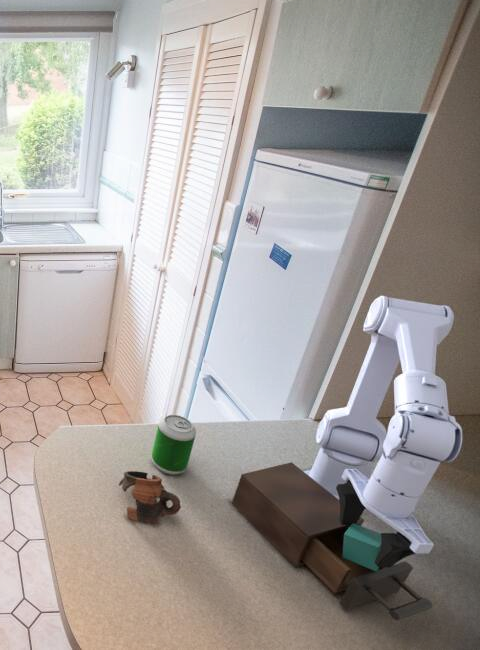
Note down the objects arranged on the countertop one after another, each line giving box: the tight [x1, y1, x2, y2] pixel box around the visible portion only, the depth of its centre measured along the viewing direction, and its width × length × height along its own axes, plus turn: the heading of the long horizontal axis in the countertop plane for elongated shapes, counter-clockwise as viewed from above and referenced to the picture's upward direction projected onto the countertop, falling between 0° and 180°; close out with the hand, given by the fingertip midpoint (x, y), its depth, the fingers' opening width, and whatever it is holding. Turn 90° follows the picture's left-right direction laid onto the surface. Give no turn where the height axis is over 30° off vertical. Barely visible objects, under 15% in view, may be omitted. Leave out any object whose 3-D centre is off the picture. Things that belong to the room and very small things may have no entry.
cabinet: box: [231, 462, 365, 568], centre depth 87 cm, size 15×13×8 cm
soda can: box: [151, 414, 197, 476], centre depth 101 cm, size 8×8×12 cm
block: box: [342, 523, 382, 572], centre depth 75 cm, size 4×4×4 cm
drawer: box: [301, 527, 434, 621], centre depth 77 cm, size 18×11×6 cm, turn 15°
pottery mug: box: [118, 470, 182, 524], centre depth 91 cm, size 12×10×8 cm
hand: (363, 543), depth 75 cm, fingers open, 7 cm apart
